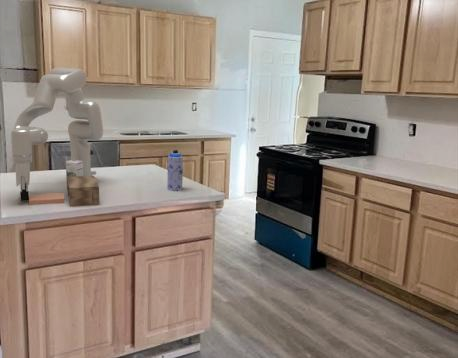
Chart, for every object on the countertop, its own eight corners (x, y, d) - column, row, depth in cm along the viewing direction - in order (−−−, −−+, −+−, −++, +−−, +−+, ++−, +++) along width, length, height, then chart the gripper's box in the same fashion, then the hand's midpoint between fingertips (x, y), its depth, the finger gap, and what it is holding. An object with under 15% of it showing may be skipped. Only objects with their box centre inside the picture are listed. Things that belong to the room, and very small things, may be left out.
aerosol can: (179, 191, 220) (180, 151, 216) (164, 190, 222) (165, 150, 217) (184, 188, 228) (185, 149, 223) (170, 186, 229) (170, 148, 225)
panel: (29, 206, 188) (28, 200, 187) (30, 199, 197) (29, 194, 196) (64, 204, 193) (64, 198, 192) (63, 198, 202) (63, 192, 201)
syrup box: (84, 189, 216) (83, 160, 213) (76, 192, 210) (75, 162, 207) (74, 188, 218) (72, 159, 214) (66, 191, 212) (65, 161, 209)
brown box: (70, 206, 188) (69, 188, 186) (67, 193, 208) (67, 176, 206) (99, 204, 193) (98, 186, 191) (94, 192, 212) (93, 175, 211)
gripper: (13, 155, 193) (16, 196, 197) (11, 161, 179) (14, 205, 183) (32, 155, 195) (35, 195, 199) (31, 161, 182) (33, 204, 186)
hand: (25, 200), depth 191 cm, fingers closed
